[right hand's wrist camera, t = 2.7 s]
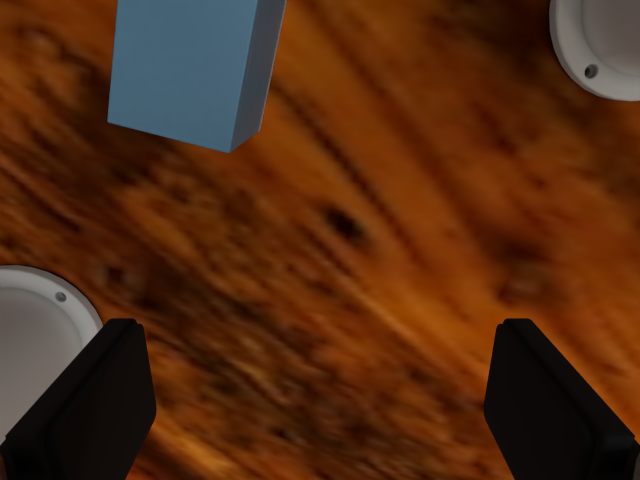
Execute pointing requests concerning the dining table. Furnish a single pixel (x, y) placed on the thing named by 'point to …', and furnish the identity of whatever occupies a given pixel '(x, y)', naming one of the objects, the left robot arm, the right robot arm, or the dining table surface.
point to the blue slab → (194, 68)
